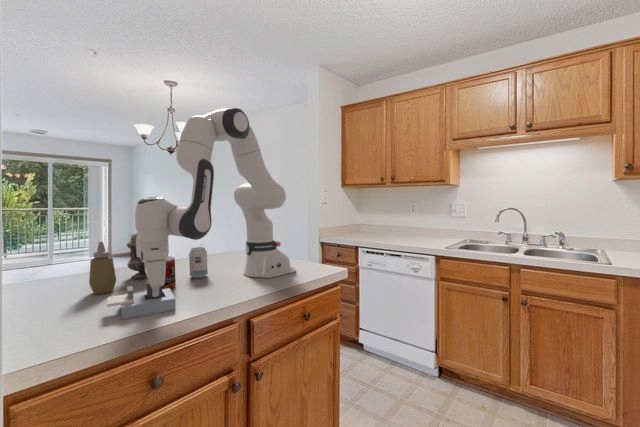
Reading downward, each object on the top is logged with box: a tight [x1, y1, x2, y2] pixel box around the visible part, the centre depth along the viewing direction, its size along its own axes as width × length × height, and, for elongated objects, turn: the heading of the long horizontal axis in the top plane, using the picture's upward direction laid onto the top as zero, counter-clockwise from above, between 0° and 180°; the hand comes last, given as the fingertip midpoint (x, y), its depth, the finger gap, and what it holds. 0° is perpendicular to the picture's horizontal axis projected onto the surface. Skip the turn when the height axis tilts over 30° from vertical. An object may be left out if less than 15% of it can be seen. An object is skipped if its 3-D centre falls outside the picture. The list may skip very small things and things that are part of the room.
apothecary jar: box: [126, 233, 148, 281], centre depth 135 cm, size 12×12×18 cm
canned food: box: [162, 255, 176, 290], centre depth 120 cm, size 8×8×11 cm
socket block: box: [120, 288, 177, 321], centre depth 100 cm, size 14×12×4 cm
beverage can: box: [188, 246, 208, 280], centre depth 134 cm, size 7×7×12 cm
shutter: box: [106, 285, 134, 308], centre depth 96 cm, size 7×7×3 cm
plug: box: [145, 279, 162, 300], centre depth 101 cm, size 4×4×7 cm
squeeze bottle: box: [88, 241, 117, 295], centre depth 115 cm, size 8×8×18 cm
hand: (154, 293), depth 101 cm, fingers closed on plug, 4 cm apart
